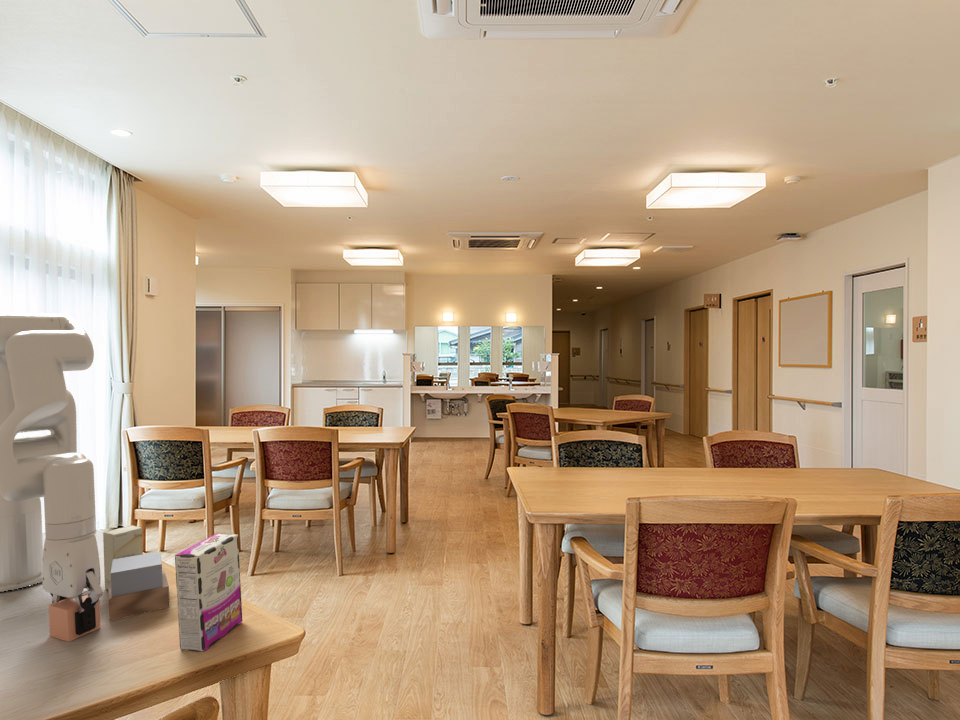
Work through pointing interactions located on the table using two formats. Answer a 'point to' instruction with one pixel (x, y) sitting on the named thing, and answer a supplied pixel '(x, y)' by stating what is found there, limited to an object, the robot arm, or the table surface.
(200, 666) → the table surface
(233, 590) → the candy bar box
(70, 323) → the robot arm
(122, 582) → the slate grey top block
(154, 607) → the walnut base block
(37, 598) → the table surface
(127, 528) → the skincare box
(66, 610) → the terracotta cube
